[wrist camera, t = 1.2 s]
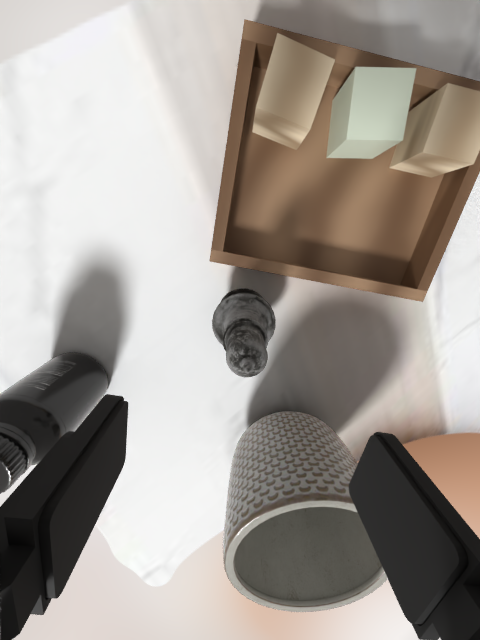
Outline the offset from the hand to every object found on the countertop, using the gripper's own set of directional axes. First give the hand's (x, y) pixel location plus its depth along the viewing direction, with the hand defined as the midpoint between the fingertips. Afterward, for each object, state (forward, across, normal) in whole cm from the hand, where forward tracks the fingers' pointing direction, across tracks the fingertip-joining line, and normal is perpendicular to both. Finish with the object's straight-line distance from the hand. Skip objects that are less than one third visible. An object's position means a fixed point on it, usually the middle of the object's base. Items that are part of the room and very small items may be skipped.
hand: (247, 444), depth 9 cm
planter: (+18, -8, +15) cm, 25 cm away
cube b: (+17, -6, -18) cm, 25 cm away
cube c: (+17, 0, -18) cm, 24 cm away
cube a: (+17, -12, -18) cm, 27 cm away
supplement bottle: (+18, +16, +11) cm, 27 cm away
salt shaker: (+18, 0, 0) cm, 18 cm away
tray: (+17, -6, -13) cm, 23 cm away
